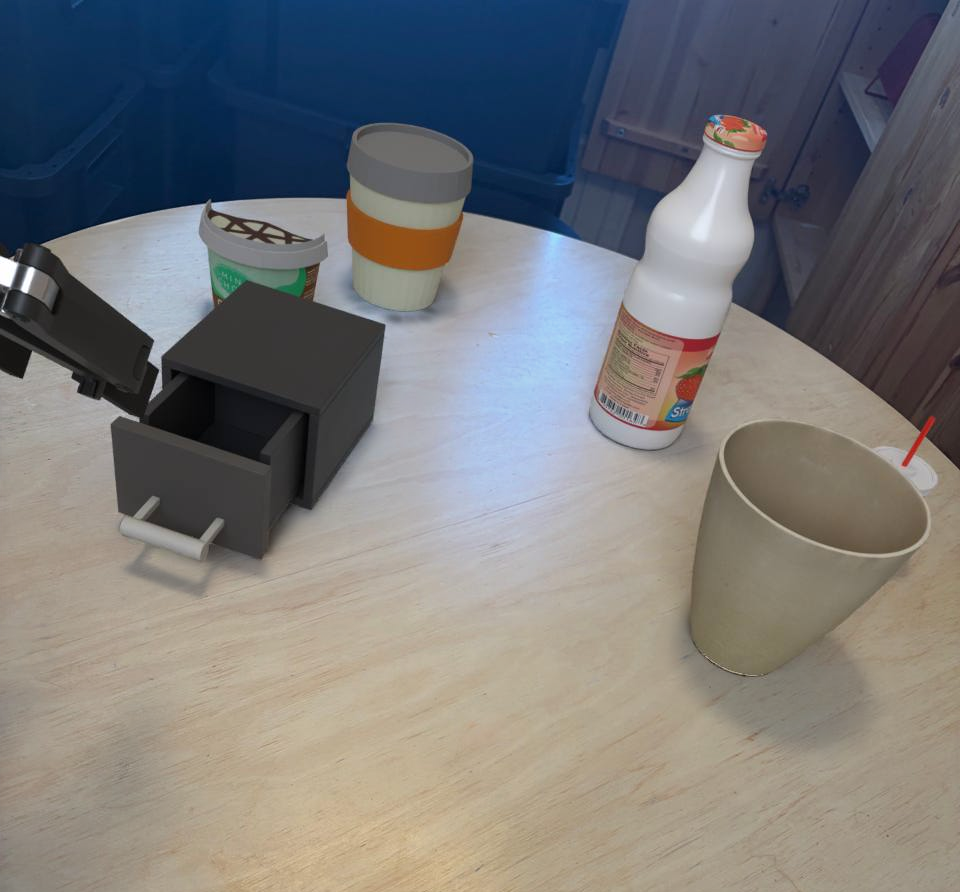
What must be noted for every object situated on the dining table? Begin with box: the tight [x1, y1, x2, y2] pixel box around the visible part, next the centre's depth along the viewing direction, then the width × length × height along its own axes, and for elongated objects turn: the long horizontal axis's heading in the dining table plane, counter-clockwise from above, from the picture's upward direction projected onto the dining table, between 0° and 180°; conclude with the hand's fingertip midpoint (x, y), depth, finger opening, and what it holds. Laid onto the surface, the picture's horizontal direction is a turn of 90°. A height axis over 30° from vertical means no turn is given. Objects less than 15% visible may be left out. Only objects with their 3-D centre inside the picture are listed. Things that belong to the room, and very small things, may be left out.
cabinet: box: [160, 280, 387, 511], centre depth 81 cm, size 15×13×10 cm
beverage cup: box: [872, 415, 938, 498], centre depth 85 cm, size 6×6×14 cm
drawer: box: [110, 372, 310, 562], centre depth 73 cm, size 18×11×8 cm, turn 165°
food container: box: [198, 199, 329, 309], centre depth 92 cm, size 12×6×10 cm, turn 76°
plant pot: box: [690, 417, 933, 675], centre depth 72 cm, size 15×15×16 cm
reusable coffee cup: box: [346, 122, 474, 312], centre depth 102 cm, size 13×13×15 cm
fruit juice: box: [589, 114, 768, 451], centre depth 87 cm, size 9×9×28 cm
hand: (83, 372), depth 51 cm, fingers open, 6 cm apart
